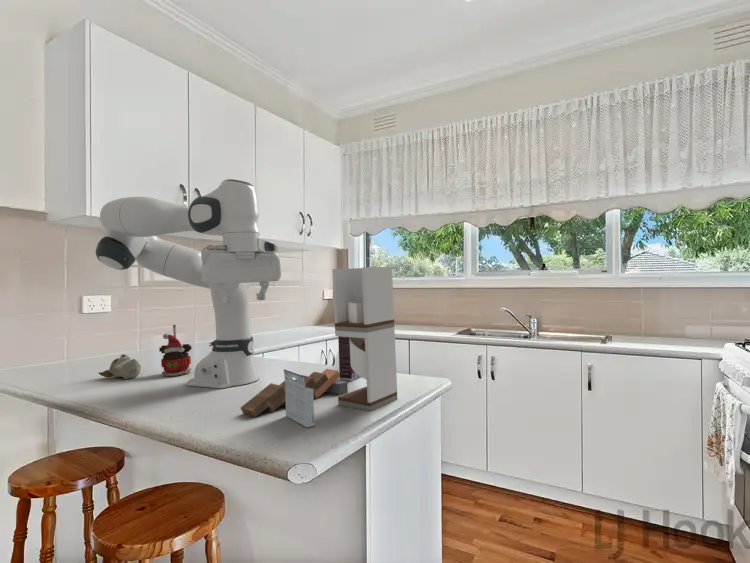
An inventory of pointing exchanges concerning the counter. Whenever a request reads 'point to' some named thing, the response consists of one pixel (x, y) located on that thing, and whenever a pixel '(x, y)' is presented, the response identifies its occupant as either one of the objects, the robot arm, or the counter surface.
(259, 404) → the domino
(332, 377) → the end domino
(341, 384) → the block
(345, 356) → the supplement box
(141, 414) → the counter surface
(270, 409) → the domino
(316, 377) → the domino
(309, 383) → the domino
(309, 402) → the ink box
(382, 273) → the white tower
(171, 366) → the santa mouse candy apple
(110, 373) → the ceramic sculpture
